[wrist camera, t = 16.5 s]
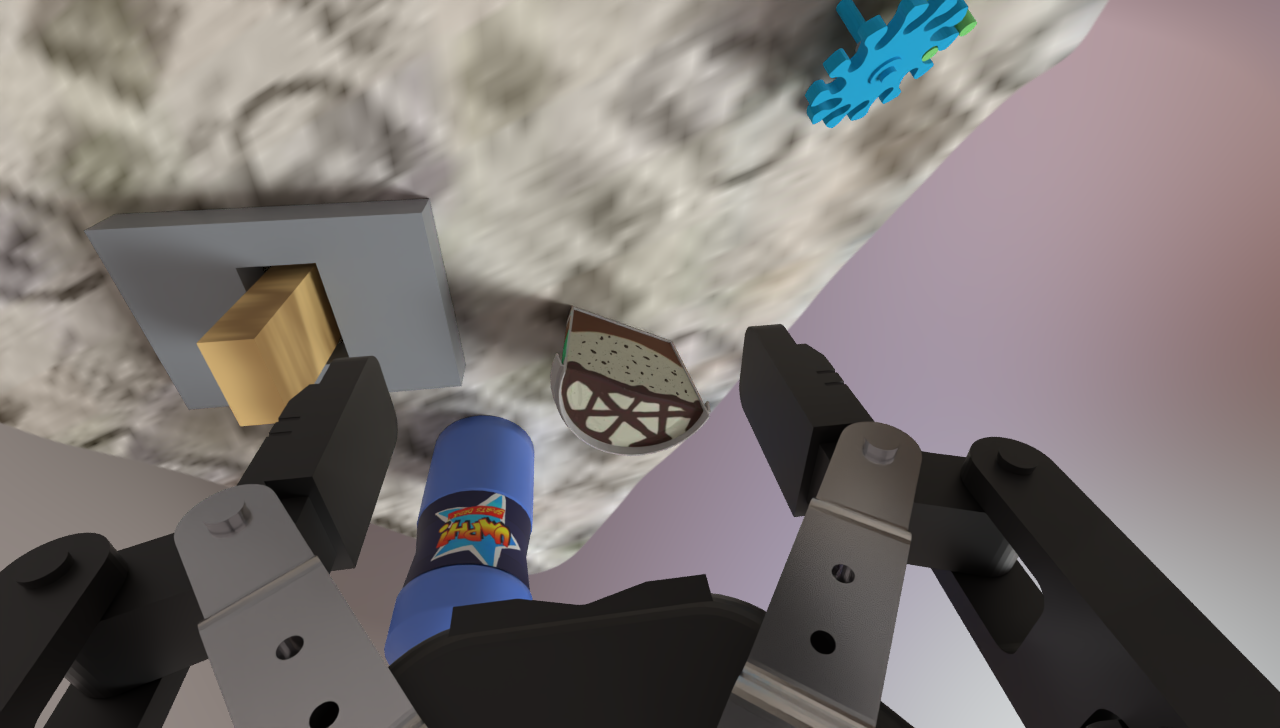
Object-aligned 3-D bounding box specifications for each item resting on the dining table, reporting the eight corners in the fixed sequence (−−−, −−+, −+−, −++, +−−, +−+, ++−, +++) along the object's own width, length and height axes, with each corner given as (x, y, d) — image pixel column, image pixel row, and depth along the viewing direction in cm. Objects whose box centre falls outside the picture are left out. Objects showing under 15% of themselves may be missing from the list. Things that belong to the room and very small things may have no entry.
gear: (797, 154, 39) (843, 49, 29) (759, 87, 40) (791, -37, 30) (936, 93, 40) (1027, -31, 30) (895, 28, 41) (970, -112, 31)
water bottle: (437, 408, 49) (359, 713, 28) (543, 421, 51) (543, 710, 31) (429, 484, 54) (357, 792, 33) (527, 492, 56) (517, 784, 35)
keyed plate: (114, 214, 37) (84, 230, 34) (429, 198, 39) (421, 212, 36) (208, 386, 45) (188, 409, 42) (465, 364, 47) (461, 385, 44)
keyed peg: (303, 334, 43) (240, 426, 34) (275, 262, 40) (196, 343, 31) (344, 331, 44) (292, 421, 35) (319, 260, 40) (254, 338, 31)
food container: (527, 359, 47) (524, 437, 39) (554, 299, 45) (556, 369, 36) (655, 399, 52) (676, 476, 44) (687, 346, 49) (716, 418, 41)
